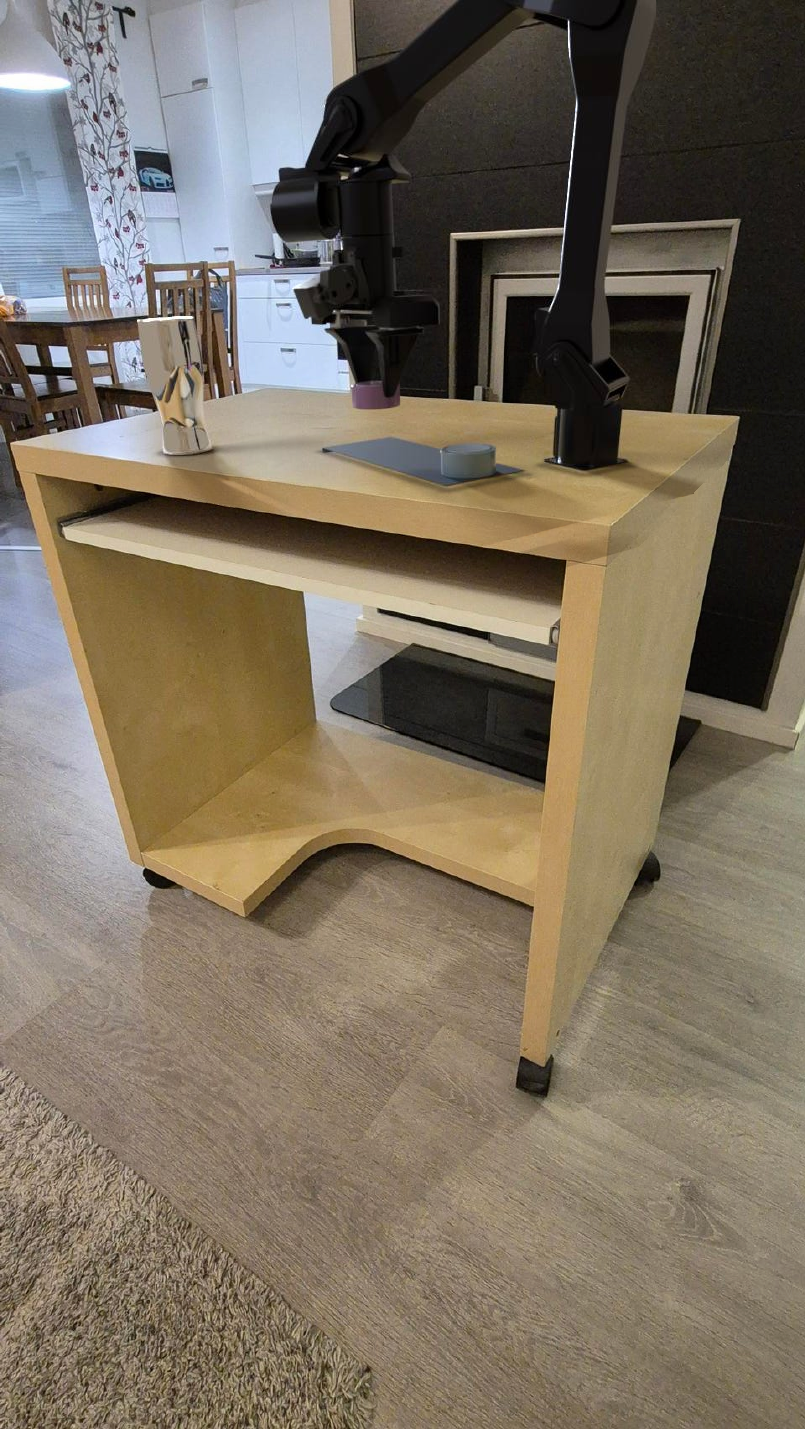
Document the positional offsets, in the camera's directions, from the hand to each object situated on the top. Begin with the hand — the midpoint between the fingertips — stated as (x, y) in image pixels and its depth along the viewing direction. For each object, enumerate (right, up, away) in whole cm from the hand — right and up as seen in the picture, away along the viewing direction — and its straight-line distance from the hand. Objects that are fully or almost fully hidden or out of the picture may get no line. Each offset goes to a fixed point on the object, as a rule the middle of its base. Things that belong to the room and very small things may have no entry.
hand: (375, 394), depth 90 cm
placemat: (+5, -9, -3) cm, 10 cm away
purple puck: (0, -1, +1) cm, 1 cm away
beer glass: (-24, -4, +9) cm, 26 cm away
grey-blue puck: (+10, -12, -10) cm, 19 cm away
